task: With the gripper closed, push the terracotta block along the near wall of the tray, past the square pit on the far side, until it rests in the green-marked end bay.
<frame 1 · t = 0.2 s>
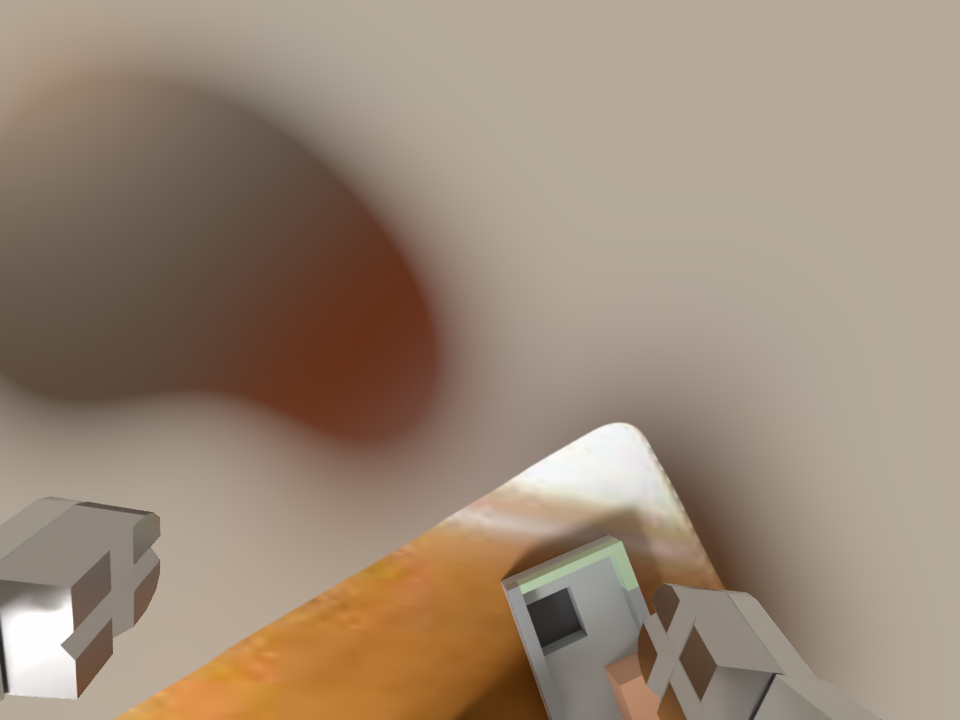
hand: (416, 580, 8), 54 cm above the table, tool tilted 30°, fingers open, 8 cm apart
tray: (582, 632, 60), on the table
block: (632, 684, 57), point 2 cm above the table, touching tray
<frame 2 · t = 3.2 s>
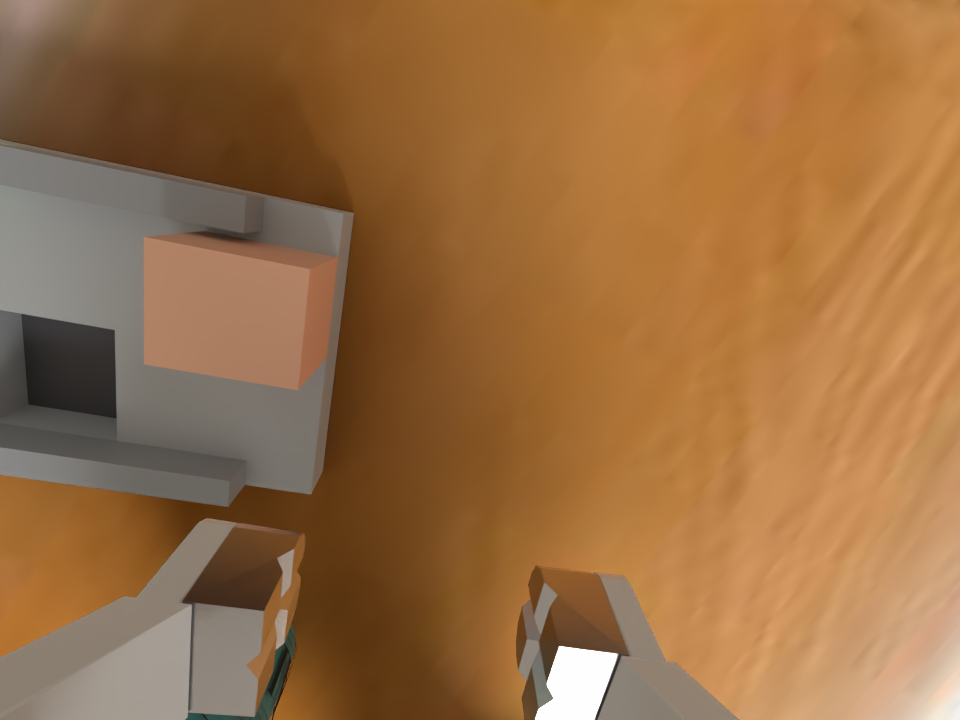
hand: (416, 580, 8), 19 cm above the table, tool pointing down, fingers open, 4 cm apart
tray: (155, 320, 25), on the table
block: (268, 297, 23), point 2 cm above the table, touching tray
beverage bottle: (259, 613, 32), on the table
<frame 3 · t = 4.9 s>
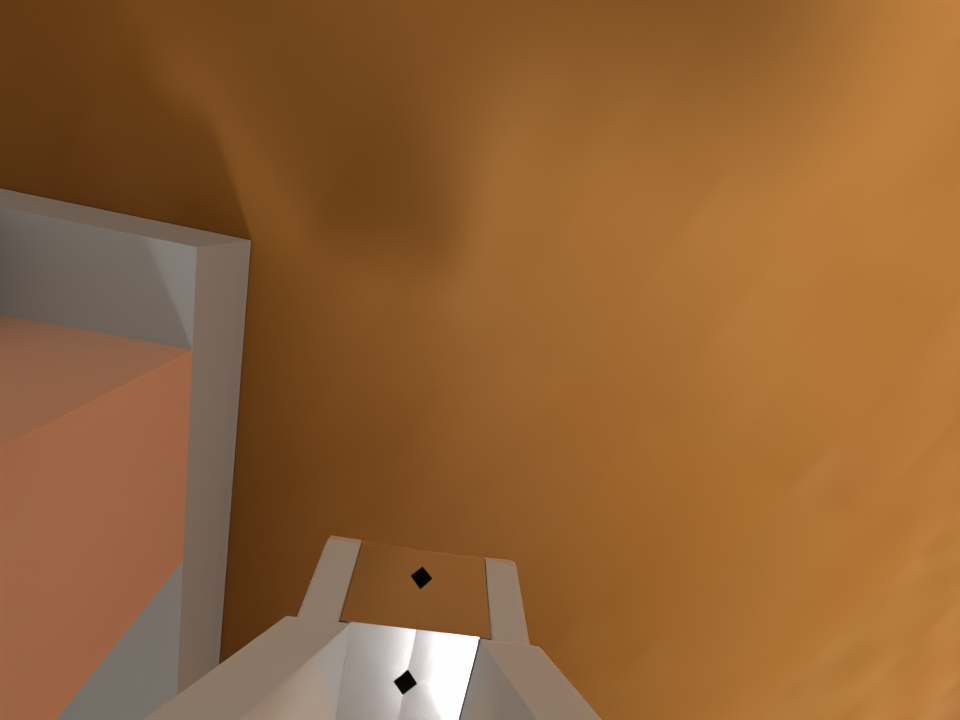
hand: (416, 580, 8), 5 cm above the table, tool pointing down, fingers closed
block: (34, 437, 10), point 2 cm above the table, touching tray
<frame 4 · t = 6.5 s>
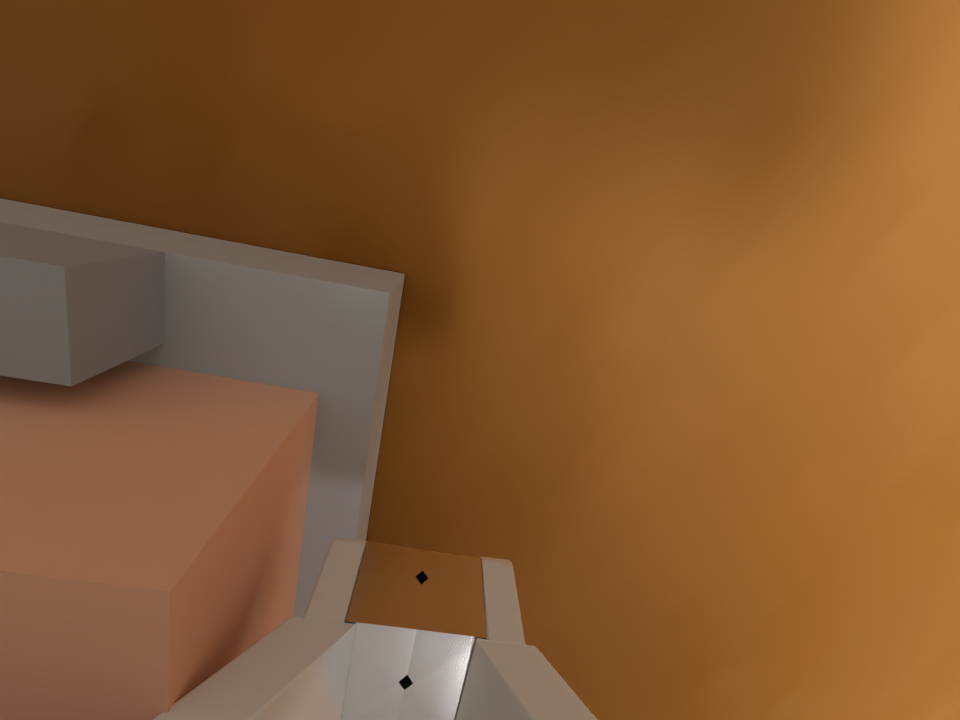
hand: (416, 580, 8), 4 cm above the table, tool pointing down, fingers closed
block: (136, 491, 9), point 2 cm above the table, touching gripper
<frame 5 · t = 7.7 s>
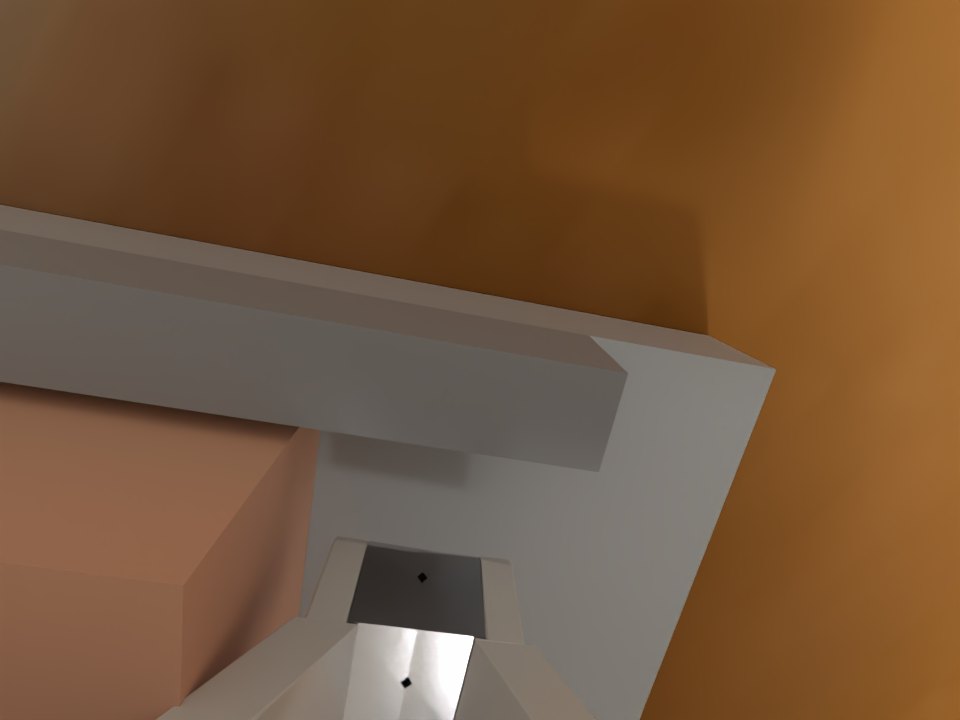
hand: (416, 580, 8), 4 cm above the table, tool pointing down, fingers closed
tray: (260, 554, 12), on the table
block: (143, 489, 9), point 2 cm above the table, touching gripper
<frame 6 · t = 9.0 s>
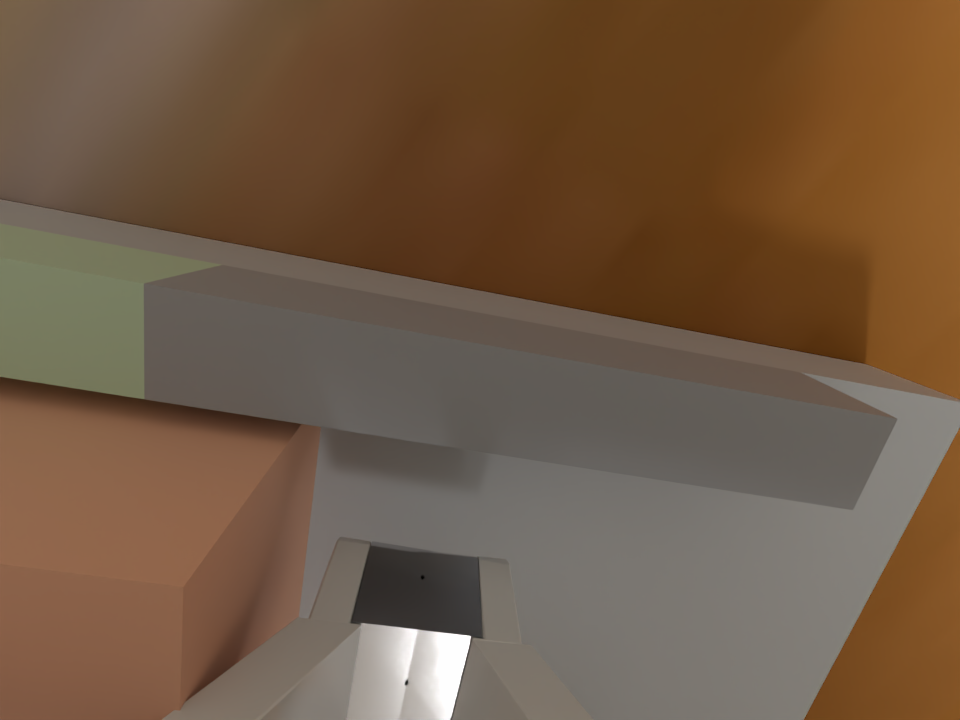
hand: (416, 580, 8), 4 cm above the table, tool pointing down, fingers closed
tray: (413, 572, 12), on the table
block: (143, 490, 9), point 2 cm above the table, touching tray, gripper
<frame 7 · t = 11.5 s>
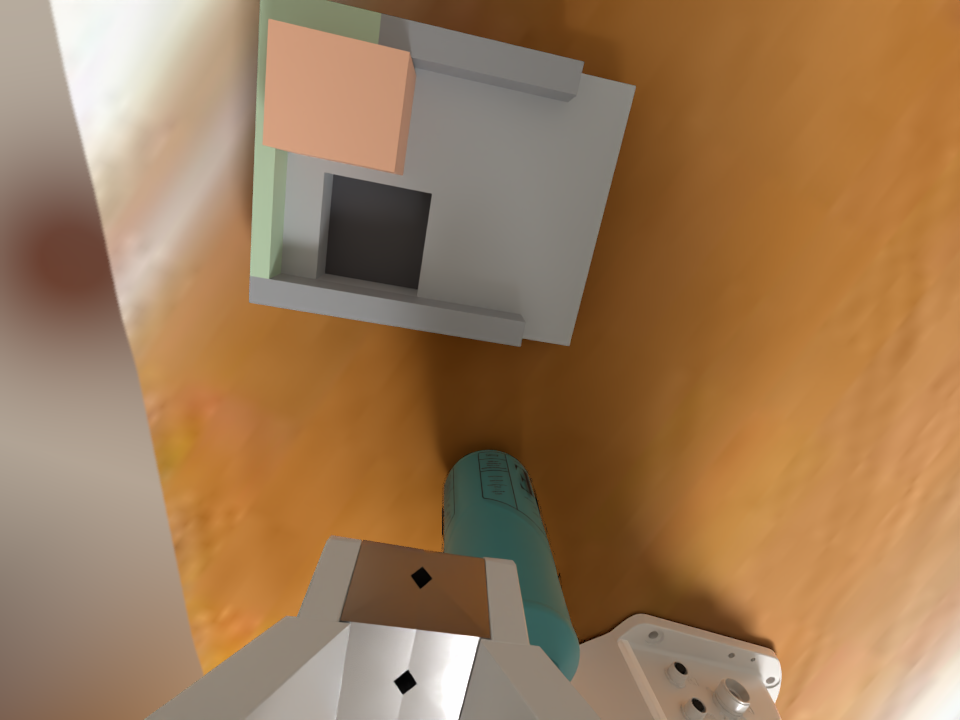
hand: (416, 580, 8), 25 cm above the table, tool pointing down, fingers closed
tray: (441, 195, 30), on the table
block: (353, 115, 26), point 2 cm above the table, touching tray
beverage bottle: (486, 472, 36), on the table
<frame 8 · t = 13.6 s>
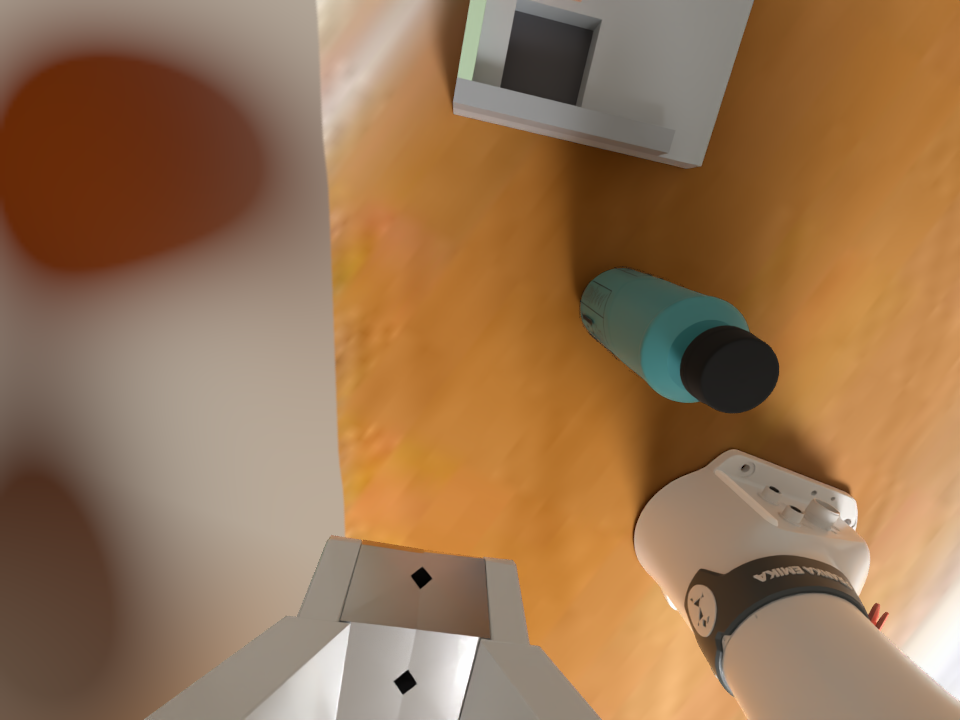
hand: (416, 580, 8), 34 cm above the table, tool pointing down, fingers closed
tray: (599, 33, 35), on the table
beverage bottle: (610, 300, 42), on the table
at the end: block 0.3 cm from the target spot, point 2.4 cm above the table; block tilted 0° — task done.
